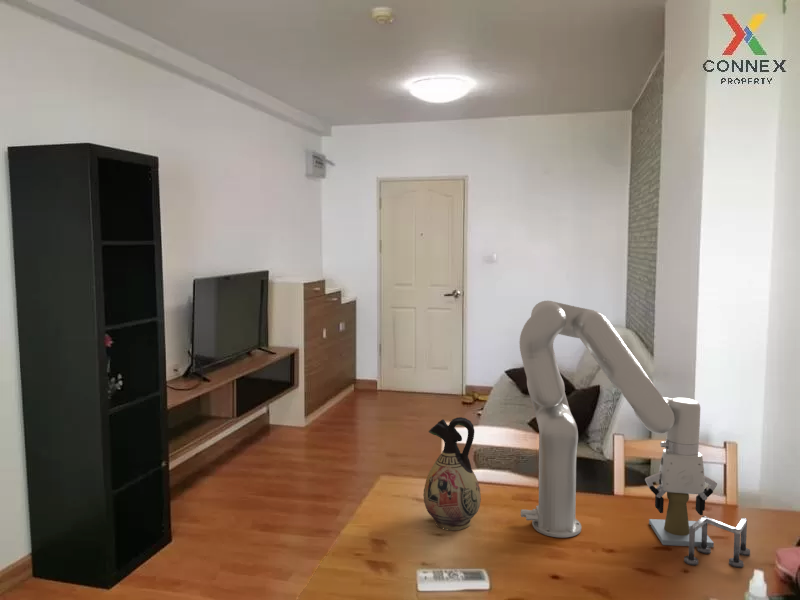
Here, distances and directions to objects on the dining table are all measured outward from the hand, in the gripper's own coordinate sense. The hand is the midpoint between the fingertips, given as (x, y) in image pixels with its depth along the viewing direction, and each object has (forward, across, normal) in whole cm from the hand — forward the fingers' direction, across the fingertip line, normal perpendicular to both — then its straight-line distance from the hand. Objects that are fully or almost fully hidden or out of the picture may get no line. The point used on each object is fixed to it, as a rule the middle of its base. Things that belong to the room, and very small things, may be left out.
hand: (679, 511), depth 155 cm
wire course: (+6, +5, -11) cm, 14 cm away
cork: (+5, 0, 0) cm, 5 cm away
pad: (+6, 0, 0) cm, 6 cm away
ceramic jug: (+7, -58, 0) cm, 58 cm away
